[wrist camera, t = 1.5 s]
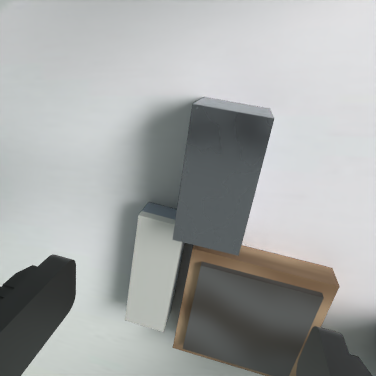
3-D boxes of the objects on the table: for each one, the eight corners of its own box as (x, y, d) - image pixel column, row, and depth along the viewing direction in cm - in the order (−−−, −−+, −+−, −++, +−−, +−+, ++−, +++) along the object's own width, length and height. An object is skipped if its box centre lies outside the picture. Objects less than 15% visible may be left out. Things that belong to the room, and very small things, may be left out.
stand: (197, 234, 27) (191, 252, 25) (332, 268, 26) (341, 291, 23) (178, 328, 32) (171, 352, 29) (291, 361, 31) (294, 390, 28)
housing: (204, 96, 23) (192, 103, 18) (270, 108, 22) (274, 118, 18) (186, 210, 27) (172, 239, 22) (241, 223, 26) (238, 255, 22)
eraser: (149, 200, 28) (138, 215, 25) (191, 211, 27) (184, 227, 24) (135, 299, 32) (124, 320, 30) (171, 309, 32) (163, 332, 29)
